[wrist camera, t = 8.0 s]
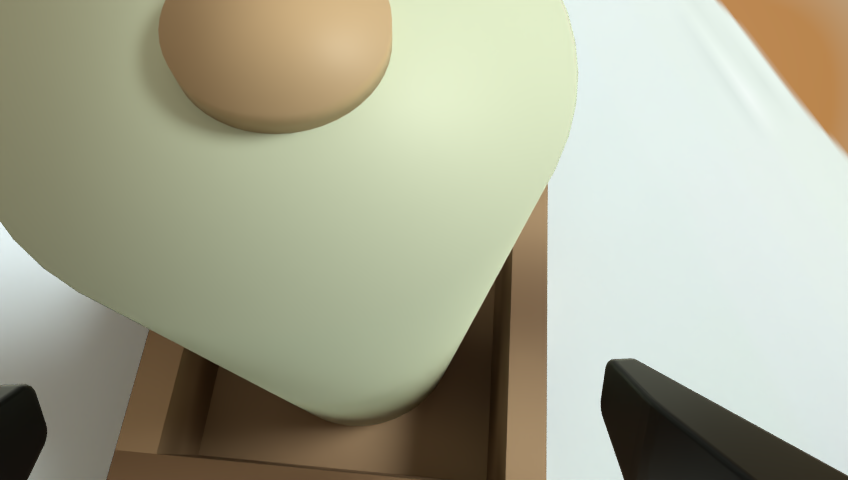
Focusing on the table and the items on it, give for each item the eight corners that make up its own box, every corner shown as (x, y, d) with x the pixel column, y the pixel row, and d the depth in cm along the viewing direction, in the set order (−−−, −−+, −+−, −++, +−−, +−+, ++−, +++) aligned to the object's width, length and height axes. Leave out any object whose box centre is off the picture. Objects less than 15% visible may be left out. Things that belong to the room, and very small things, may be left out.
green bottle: (380, 468, 16) (320, 501, 4) (228, 349, 17) (-213, 65, 5) (489, 307, 18) (690, -21, 6) (346, 210, 19) (253, -245, 7)
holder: (523, 532, 16) (556, 550, 13) (152, 496, 16) (88, 506, 13) (529, 200, 20) (555, 149, 17) (235, 170, 20) (203, 113, 17)
